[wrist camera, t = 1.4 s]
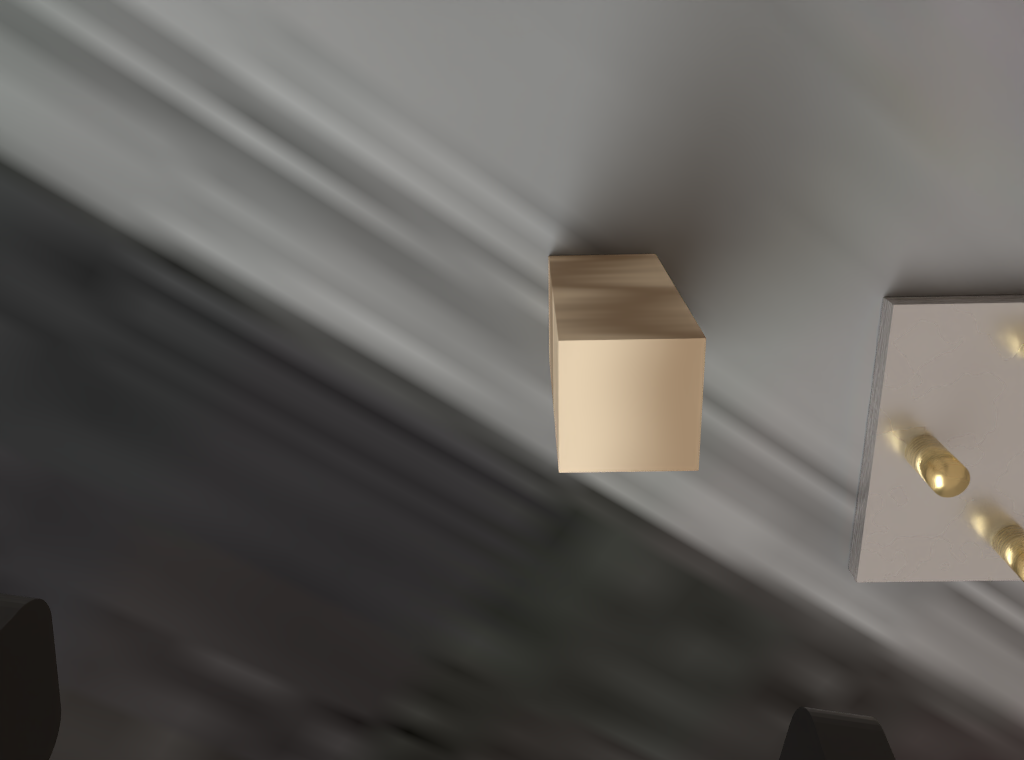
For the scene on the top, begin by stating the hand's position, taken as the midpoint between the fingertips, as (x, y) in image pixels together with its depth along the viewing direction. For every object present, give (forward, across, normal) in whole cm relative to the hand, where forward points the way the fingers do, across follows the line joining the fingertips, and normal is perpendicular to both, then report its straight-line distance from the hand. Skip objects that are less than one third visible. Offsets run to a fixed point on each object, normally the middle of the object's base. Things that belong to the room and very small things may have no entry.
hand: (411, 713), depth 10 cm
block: (+26, -3, +3) cm, 26 cm away
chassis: (+26, -20, +7) cm, 34 cm away
